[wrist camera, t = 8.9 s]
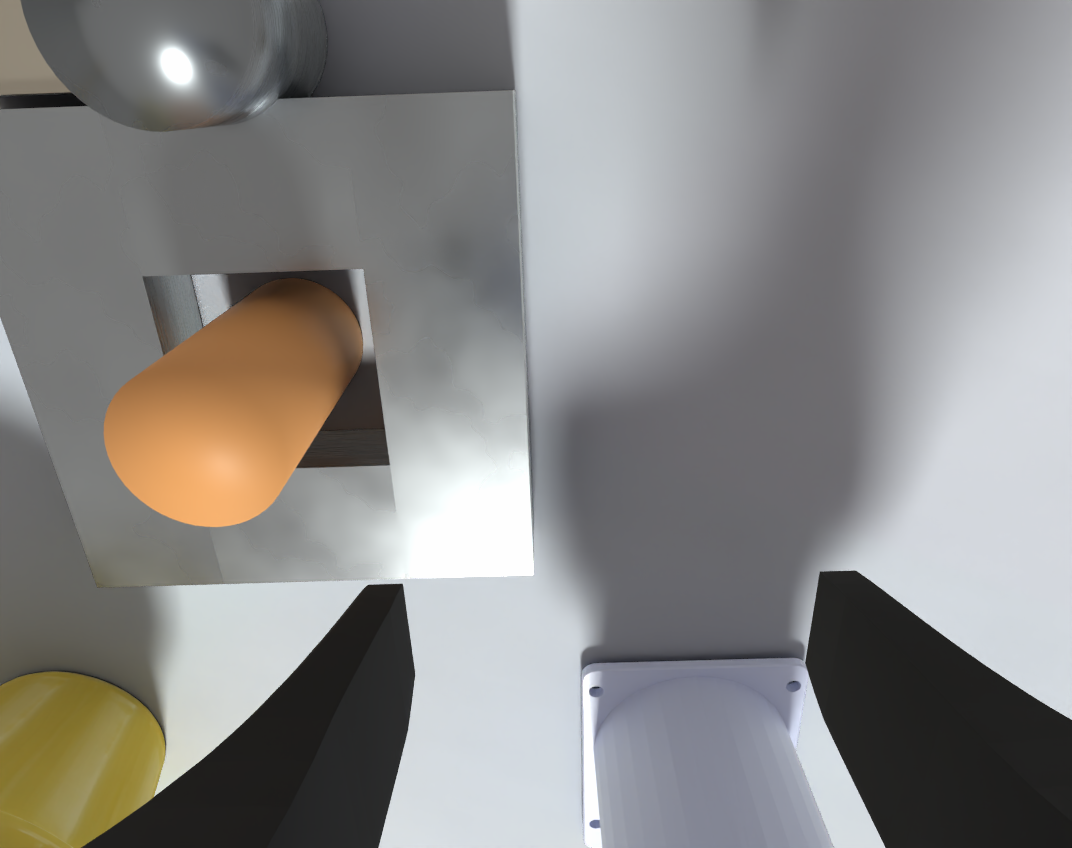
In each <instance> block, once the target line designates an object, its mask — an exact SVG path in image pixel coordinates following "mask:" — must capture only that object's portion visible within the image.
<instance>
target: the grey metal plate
mask: <svg viewBox="0 0 1072 848" xmlns="http://www.w3.org/2000/svg"><path fill="white" fill-rule="evenodd" d="M326 56H327V30H326V24H325V19H324V15H323V12H322V9H321V5H320V3H319V1H318V0H0V97H1V96H27V95H54V94H74V95H75V96H76V97H77V98H78V99H79V100H80V101H82V102H83V103H85V104H86V105H87V106H75V107H49V108H22V109H0V317H1V320H2V323H3V326H4V329H5V331H6V334H7V337H8V340H9V343H10V345H11V348H12V351H13V354H14V356H15V359H16V362H17V365H18V368H19V370H20V373H21V376H22V379H23V382H24V384H25V387H26V390H27V393H28V396H29V398H30V401H31V404H32V407H33V409H34V412H35V415H36V418H37V421H38V423H39V426H40V429H41V432H42V435H43V437H44V440H45V443H46V446H47V448H48V451H49V454H50V457H51V460H52V462H53V465H54V468H55V471H56V474H57V476H58V479H59V482H60V485H61V488H62V490H63V493H64V496H65V499H66V501H67V504H68V507H69V510H70V513H71V515H72V518H73V521H74V524H75V527H76V529H77V532H78V535H79V538H80V541H81V543H82V546H83V549H84V552H85V554H86V557H87V560H88V563H89V566H90V568H91V571H92V574H93V577H94V580H95V582H96V585H97V588H103V587H138V586H172V585H206V584H240V583H275V582H309V581H343V580H377V579H412V578H446V577H480V576H514V575H534V527H533V503H532V480H531V456H530V432H529V408H528V384H527V360H526V337H525V313H524V289H523V265H522V241H521V217H520V194H519V170H518V146H517V122H516V98H515V90H501V91H474V92H448V93H421V94H395V95H368V96H341V97H315V98H309V97H310V96H311V95H312V93H313V92H314V90H315V89H316V87H317V85H318V83H319V81H320V79H321V77H322V74H323V70H324V67H325V63H326ZM343 269H364V277H365V284H366V292H367V299H368V306H369V314H370V321H371V329H372V336H373V343H374V351H375V358H376V365H377V373H378V380H379V388H380V395H381V402H382V410H383V417H384V425H385V429H365V430H333V431H319V432H318V433H317V435H316V437H315V438H314V440H313V441H312V443H311V445H310V446H309V448H308V449H307V451H306V452H305V454H304V456H303V457H302V459H301V460H300V462H299V464H298V465H297V467H296V468H295V470H294V471H293V473H292V475H291V476H290V478H289V479H288V481H287V483H286V484H285V486H284V487H283V489H282V491H281V492H280V494H279V495H278V497H277V498H276V499H275V501H274V502H273V503H272V504H271V505H270V506H269V507H268V508H267V509H266V510H265V511H263V512H262V513H261V514H259V515H258V516H256V517H254V518H252V519H250V520H248V521H245V522H242V523H239V524H235V525H231V526H223V527H204V526H195V525H191V524H187V523H183V522H180V521H177V520H174V519H171V518H169V517H167V516H165V515H162V514H160V513H159V512H157V511H155V510H153V509H152V508H150V507H149V506H147V505H146V504H145V503H143V502H142V501H141V500H140V499H138V498H137V497H136V496H135V495H134V494H133V493H132V492H131V491H130V490H129V489H128V488H127V487H126V486H125V485H124V483H123V482H122V481H121V479H120V478H119V476H118V475H117V473H116V472H115V470H114V468H113V466H112V464H111V462H110V459H109V457H108V454H107V451H106V447H105V442H104V421H105V416H106V412H107V409H108V407H109V404H110V402H111V401H112V399H113V397H114V395H115V394H116V393H117V392H118V391H119V389H120V388H121V387H122V386H123V385H125V384H126V383H127V382H128V381H129V380H131V379H132V378H134V377H135V376H136V375H138V374H139V373H140V372H142V371H143V370H145V369H146V368H147V367H149V366H150V365H152V364H153V363H154V362H156V361H157V360H159V359H160V358H161V357H163V356H164V355H166V354H167V353H168V352H170V351H171V350H173V349H174V348H175V347H177V346H178V345H179V344H181V343H182V342H184V341H185V340H186V339H188V338H189V337H191V336H192V335H193V334H195V333H196V332H198V331H199V330H200V329H202V328H203V326H202V322H201V318H200V313H199V309H198V305H197V301H196V297H195V292H194V288H193V284H192V280H191V276H190V275H199V274H228V273H256V272H285V271H314V270H343Z"/></svg>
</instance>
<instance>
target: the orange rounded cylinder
mask: <svg viewBox="0 0 1072 848" xmlns="http://www.w3.org/2000/svg"><path fill="white" fill-rule="evenodd" d="M362 353H363V340H362V334H361V329H360V327H359V324H358V321H357V319H356V317H355V315H354V314H353V312H352V311H351V309H350V308H349V306H348V305H347V304H346V303H345V302H344V301H343V300H342V299H341V298H340V297H339V296H338V295H337V294H335V293H334V292H332V291H331V290H330V289H328V288H326V287H324V286H322V285H320V284H318V283H315V282H312V281H309V280H305V279H298V278H285V279H278V280H275V281H271V282H269V283H266V284H264V285H262V286H261V287H259V288H257V289H256V290H255V291H253V292H252V293H251V294H249V295H248V296H246V297H245V298H244V299H242V300H241V301H239V302H238V303H237V304H235V305H234V306H232V307H231V308H230V309H228V310H227V311H225V312H224V313H223V314H221V315H220V316H218V317H217V318H216V319H214V320H213V321H212V322H210V323H209V324H207V325H206V326H205V327H203V328H202V329H200V330H199V331H198V332H196V333H195V334H193V335H192V336H191V337H189V338H188V339H186V340H185V341H184V342H182V343H181V344H179V345H178V346H177V347H175V348H174V349H173V350H171V351H170V352H168V353H167V354H166V355H164V356H163V357H161V358H160V359H159V360H157V361H156V362H154V363H153V364H152V365H150V366H149V367H147V368H146V369H145V370H143V371H142V372H140V373H139V374H138V375H136V376H135V377H134V378H132V379H131V380H129V381H128V382H127V383H126V384H125V385H123V386H122V387H121V388H120V389H119V391H118V392H117V393H116V394H115V395H114V397H113V399H112V401H111V402H110V404H109V407H108V409H107V412H106V416H105V421H104V442H105V447H106V451H107V454H108V457H109V459H110V462H111V464H112V466H113V468H114V470H115V472H116V473H117V475H118V476H119V478H120V479H121V481H122V482H123V483H124V485H125V486H126V487H127V488H128V489H129V490H130V491H131V492H132V493H133V494H134V495H135V496H136V497H137V498H138V499H140V500H141V501H142V502H143V503H145V504H146V505H147V506H149V507H150V508H152V509H153V510H155V511H157V512H159V513H160V514H162V515H165V516H167V517H169V518H171V519H174V520H177V521H180V522H183V523H187V524H191V525H195V526H204V527H223V526H231V525H235V524H239V523H242V522H245V521H248V520H250V519H252V518H254V517H256V516H258V515H259V514H261V513H262V512H263V511H265V510H266V509H267V508H268V507H269V506H270V505H271V504H272V503H273V502H274V501H275V499H276V498H277V497H278V495H279V494H280V492H281V491H282V489H283V487H284V486H285V484H286V483H287V481H288V479H289V478H290V476H291V475H292V473H293V471H294V470H295V468H296V467H297V465H298V464H299V462H300V460H301V459H302V457H303V456H304V454H305V452H306V451H307V449H308V448H309V446H310V445H311V443H312V441H313V440H314V438H315V437H316V435H317V433H318V432H319V430H320V429H321V427H322V425H323V424H324V422H325V421H326V419H327V418H328V416H329V414H330V413H331V411H332V410H333V408H334V406H335V405H336V403H337V402H338V400H339V398H340V397H341V395H342V394H343V392H344V391H345V389H346V387H347V386H348V384H349V383H350V381H351V379H352V378H353V376H354V375H355V373H356V371H357V369H358V367H359V365H360V362H361V358H362Z"/></svg>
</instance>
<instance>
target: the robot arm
mask: <svg viewBox="0 0 1072 848" xmlns="http://www.w3.org/2000/svg"><path fill="white" fill-rule="evenodd" d="M808 677H810V680H811V683H812V686H813V689H814V693H815V696H816V698H817V701H818V704H819V707H820V710H821V713H822V716H823V718H824V721H825V723H826V725H827V727H828V729H829V732H830V734H831V736H832V738H833V740H834V742H835V744H836V746H837V748H838V750H839V753H840V755H841V757H842V759H843V761H844V763H845V765H846V767H847V769H848V771H849V773H850V775H851V777H852V779H853V782H854V784H855V786H856V788H857V790H858V792H859V794H860V796H861V798H862V800H863V802H864V804H865V806H866V808H867V810H868V812H869V814H870V816H871V819H872V821H873V823H874V825H875V827H876V829H877V831H878V833H879V835H880V837H881V839H882V841H883V843H884V845H885V847H886V848H1072V720H1071V719H1069V718H1067V717H1066V716H1064V715H1062V714H1060V713H1059V712H1057V711H1055V710H1054V709H1052V708H1050V707H1049V706H1047V705H1045V704H1044V703H1042V702H1040V701H1039V700H1037V699H1036V698H1034V697H1032V696H1031V695H1029V694H1028V693H1026V692H1025V691H1023V690H1021V689H1020V688H1018V687H1017V686H1015V685H1014V684H1012V683H1011V682H1009V681H1008V680H1006V679H1005V678H1003V677H1002V676H1000V675H999V674H997V673H996V672H994V671H993V670H991V669H990V668H988V667H987V666H985V665H984V664H982V663H981V662H980V661H978V660H977V659H975V658H974V657H972V656H971V655H969V654H968V653H967V652H965V651H964V650H962V649H961V648H960V647H958V646H957V645H955V644H954V643H953V642H951V641H950V640H949V639H947V638H946V637H944V636H943V635H942V634H940V633H939V632H938V631H936V630H935V629H934V628H932V627H931V626H930V625H928V624H927V623H926V622H924V621H923V620H922V619H920V618H919V617H918V616H916V615H915V614H914V613H912V612H911V611H910V610H908V609H907V608H906V607H904V606H903V605H902V604H900V603H899V602H898V601H896V600H895V599H894V598H893V597H891V596H890V595H889V594H887V593H886V592H885V591H883V590H882V589H881V588H879V587H878V586H877V585H875V584H874V583H873V582H871V581H870V580H868V579H867V578H866V577H864V576H863V575H861V574H860V573H858V572H857V571H827V572H820V575H819V581H818V587H817V593H816V599H815V606H814V612H813V618H812V624H811V631H810V637H809V643H808V649H807V655H806V662H805V663H804V661H803V660H801V659H799V658H766V659H730V660H694V661H657V662H621V663H594V664H589V665H588V666H586V667H585V668H584V669H583V670H582V674H581V679H582V781H583V840H584V843H585V844H586V845H587V846H589V847H591V848H834V846H833V844H832V841H831V839H830V836H829V834H828V831H827V829H826V826H825V824H824V821H823V818H822V816H821V813H820V811H819V808H818V806H817V803H816V801H815V798H814V796H813V793H812V791H811V788H810V786H809V783H808V781H807V778H806V776H805V773H804V771H803V768H802V766H801V763H800V761H799V758H798V756H797V753H796V749H797V743H798V737H799V731H800V725H801V719H802V713H803V707H804V701H805V695H806V689H807V683H808ZM414 680H415V669H414V662H413V655H412V648H411V640H410V633H409V626H408V619H407V611H406V604H405V597H404V589H403V584H380V585H367V586H366V587H365V588H364V589H363V590H362V591H361V593H360V594H359V595H358V596H357V597H356V599H355V600H354V601H353V602H352V604H351V605H350V606H349V607H348V609H347V610H346V611H345V612H344V614H343V615H342V616H341V617H340V619H339V620H338V621H337V622H336V623H335V625H334V626H333V627H332V628H331V629H330V631H329V632H328V633H327V634H326V635H325V637H324V638H323V639H322V640H321V641H320V643H319V644H318V645H317V646H316V647H315V648H314V649H313V651H312V652H311V653H310V654H309V655H308V656H307V657H306V659H305V660H304V661H303V662H302V663H301V664H300V665H299V667H298V668H297V669H296V670H295V671H294V672H293V673H292V674H291V675H290V676H289V677H288V678H287V680H286V681H285V682H284V683H283V684H282V685H281V686H280V687H279V688H278V689H277V690H276V691H275V692H274V693H273V694H272V695H271V696H270V697H269V698H268V699H267V700H266V701H265V702H264V703H263V704H262V705H261V706H260V707H259V708H258V709H257V710H256V711H255V712H254V713H253V714H252V715H251V716H250V717H249V718H248V719H247V720H246V721H245V722H244V723H243V724H242V725H241V726H240V727H239V728H238V729H236V730H235V731H234V732H233V733H232V734H231V735H230V736H229V737H228V738H227V739H225V740H224V741H223V742H222V743H221V744H220V745H219V746H218V747H216V748H215V749H214V750H213V751H212V752H211V753H210V754H208V755H207V756H206V757H205V758H204V759H202V760H201V761H200V762H199V763H197V764H196V765H195V766H194V767H192V768H191V769H190V770H188V771H187V772H186V773H184V774H183V775H182V776H181V777H179V778H178V779H177V780H175V781H174V782H173V783H172V784H170V785H169V786H168V787H166V788H165V789H164V790H162V791H161V792H160V793H159V794H157V795H156V796H155V797H153V798H152V799H151V800H149V801H148V802H147V803H146V804H144V805H143V806H141V807H140V808H139V809H137V810H136V811H134V812H133V813H131V814H130V815H129V816H127V817H126V818H124V819H123V820H121V821H120V822H119V823H117V824H116V825H114V826H113V827H111V828H110V829H108V830H107V831H105V832H104V833H102V834H101V835H99V836H98V837H96V838H95V839H93V840H92V841H90V842H89V843H87V844H86V845H84V846H83V847H81V848H378V847H379V843H380V839H381V835H382V831H383V827H384V823H385V819H386V815H387V811H388V808H389V804H390V800H391V796H392V792H393V788H394V784H395V780H396V776H397V772H398V768H399V764H400V760H401V756H402V752H403V748H404V744H405V740H406V736H407V732H408V726H409V718H410V711H411V704H412V696H413V688H414ZM791 681H795V682H793V683H790V684H788V683H789V682H791ZM595 686H598V687H600V688H598V689H592V687H595Z"/></svg>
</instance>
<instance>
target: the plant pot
mask: <svg viewBox="0 0 1072 848" xmlns="http://www.w3.org/2000/svg"><path fill="white" fill-rule="evenodd" d="M164 760H165V740H164V736H163V733H162V730H161V728H160V726H159V724H158V722H157V721H156V719H155V717H154V716H153V715H152V713H151V712H150V711H149V710H148V708H146V707H145V706H144V705H143V704H142V703H141V702H140V701H139V700H137V699H136V698H135V697H133V696H132V695H130V694H129V693H128V692H126V691H124V690H122V689H120V688H119V687H117V686H115V685H112V684H110V683H108V682H105V681H103V680H100V679H97V678H94V677H90V676H87V675H82V674H77V673H70V672H60V671H51V672H40V673H33V674H28V675H24V676H20V677H18V678H15V679H13V680H11V681H8V682H6V683H4V684H3V685H1V686H0V848H81V847H83V846H84V845H86V844H87V843H89V842H90V841H92V840H93V839H95V838H96V837H98V836H99V835H101V834H102V833H104V832H105V831H107V830H108V829H110V828H111V827H113V826H114V825H116V824H117V823H119V822H120V821H121V820H123V819H124V818H126V817H127V816H129V815H130V814H131V813H133V812H134V811H136V810H137V809H139V808H140V807H141V806H143V805H144V804H146V803H147V802H148V801H149V800H151V799H152V798H153V797H154V794H155V791H156V788H157V784H158V781H159V777H160V774H161V770H162V767H163V763H164Z"/></svg>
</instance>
